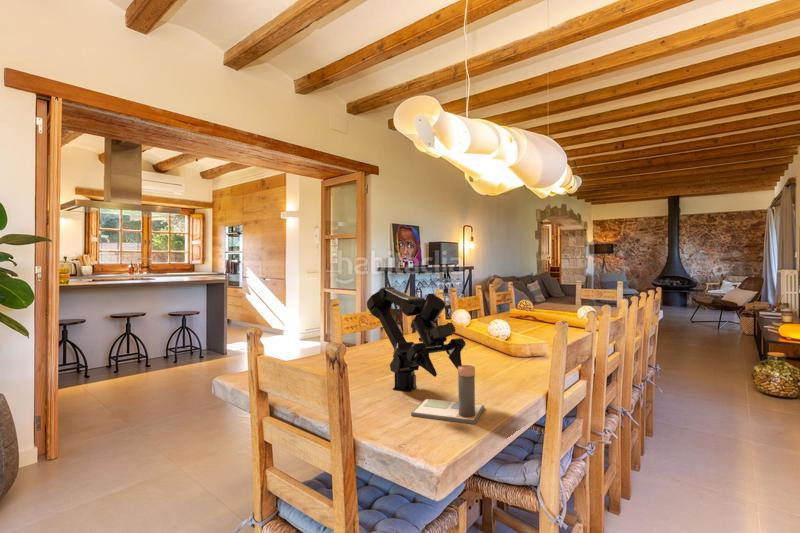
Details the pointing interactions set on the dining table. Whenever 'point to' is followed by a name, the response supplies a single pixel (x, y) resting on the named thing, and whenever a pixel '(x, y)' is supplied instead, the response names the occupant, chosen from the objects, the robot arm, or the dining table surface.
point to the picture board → (445, 411)
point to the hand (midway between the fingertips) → (448, 373)
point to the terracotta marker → (466, 390)
